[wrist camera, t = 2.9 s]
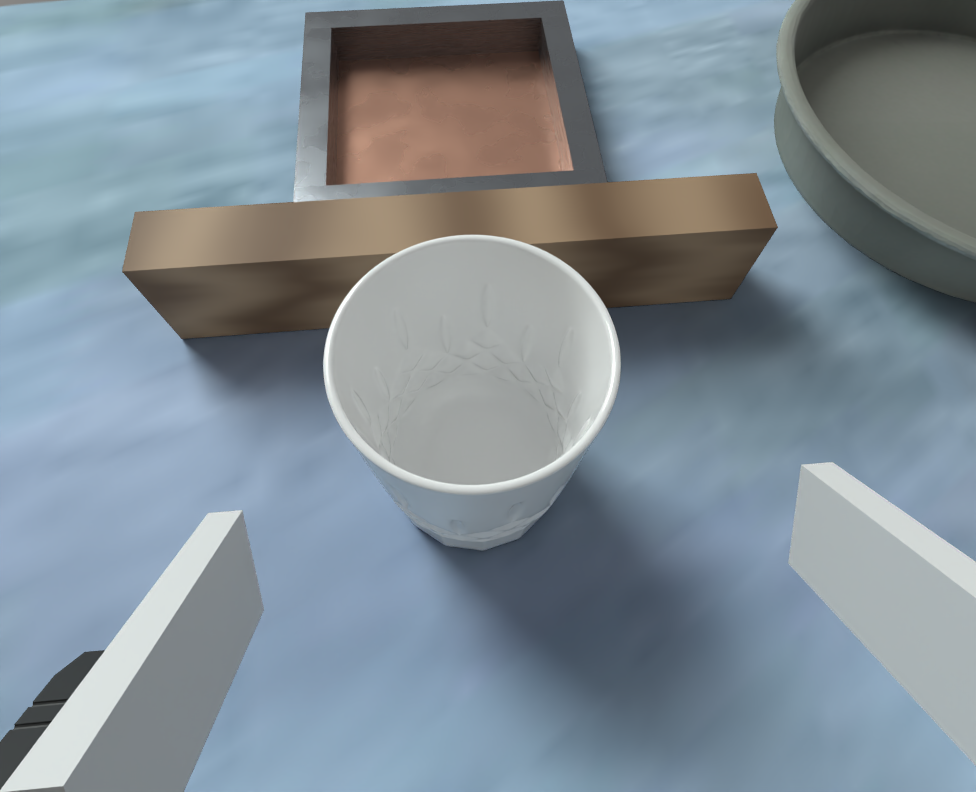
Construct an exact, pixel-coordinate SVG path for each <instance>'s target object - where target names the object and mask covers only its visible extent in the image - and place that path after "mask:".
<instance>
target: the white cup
mask: <svg viewBox="0 0 976 792" xmlns="http://www.w3.org/2000/svg"><path fill="white" fill-rule="evenodd" d="M323 373H324V383H325V388H326V393H327V397H328V400H329V403H330V406H331V408H332V411H333V413H334V415H335V417H336V419H337V421H338V423H339V425H340V427H341V428H342V430H343V431H344V433H345V434H346V436H347V437H348V438H349V440H350V441H351V443H352V444H353V445H354V447H355V448H356V450H357V451H358V452H359V454H360V455H361V457H362V458H363V459H364V461H365V462H366V464H367V465H368V467H369V468H370V469H371V471H372V472H373V474H374V475H375V477H376V478H377V480H378V481H379V482H380V484H381V485H382V487H383V488H384V489H385V491H386V492H387V493H388V494H389V495H390V497H391V498H392V499H393V500H394V502H395V503H396V504H397V505H398V507H399V508H400V509H401V510H402V511H403V512H404V513H405V514H406V515H407V516H409V518H410V520H411V521H412V523H413V524H414V525H415V526H417V527H418V528H420V529H421V530H423V531H424V532H426V533H427V534H429V535H430V536H432V537H433V538H435V539H436V540H438V541H439V542H441V543H442V544H444V545H445V546H452V547H459V548H467V549H475V550H487V549H490V548H493V547H496V546H499V545H502V544H505V543H507V542H510V541H513V540H516V539H519V538H521V537H522V536H523V535H524V534H525V533H526V532H527V531H528V530H529V529H530V528H531V527H532V526H533V525H534V524H535V523H536V522H537V521H538V520H539V519H540V518H541V517H542V516H543V515H544V514H545V513H546V511H547V510H548V509H549V508H550V506H551V505H552V504H553V503H554V501H555V500H556V499H557V497H558V496H559V494H560V493H561V492H562V490H563V489H564V488H565V486H566V485H567V483H568V482H569V480H570V479H571V477H572V476H573V474H574V472H575V471H576V469H577V467H578V466H579V464H580V462H581V461H582V459H583V457H584V456H585V454H586V452H587V451H588V449H589V448H590V446H591V444H592V443H593V441H594V440H595V438H596V436H597V435H598V433H599V432H600V430H601V429H602V427H603V425H604V424H605V422H606V420H607V418H608V416H609V414H610V412H611V410H612V407H613V405H614V402H615V399H616V395H617V392H618V387H619V382H620V373H621V355H620V347H619V341H618V337H617V333H616V330H615V326H614V324H613V321H612V319H611V316H610V314H609V312H608V310H607V308H606V307H605V305H604V303H603V302H602V300H601V298H600V297H599V296H598V294H597V293H596V292H595V290H594V289H593V288H592V287H591V285H590V284H589V283H588V282H587V281H586V280H585V279H584V278H583V277H582V276H581V275H580V274H579V273H578V272H576V271H575V270H574V269H573V268H571V267H570V266H569V265H567V264H566V263H565V262H563V261H562V260H560V259H559V258H557V257H555V256H553V255H552V254H550V253H548V252H546V251H544V250H542V249H540V248H537V247H535V246H532V245H530V244H527V243H524V242H520V241H517V240H513V239H509V238H504V237H497V236H489V235H456V236H448V237H442V238H437V239H433V240H429V241H425V242H422V243H419V244H416V245H413V246H411V247H409V248H406V249H404V250H402V251H400V252H398V253H396V254H394V255H392V256H390V257H389V258H387V259H385V260H384V261H382V262H381V263H379V264H378V265H377V266H375V267H374V268H373V269H371V270H370V271H369V272H368V273H367V274H366V275H364V276H363V277H362V278H361V279H360V280H359V281H358V282H357V283H356V285H355V286H354V287H353V288H352V289H351V290H350V292H349V293H348V294H347V296H346V297H345V298H344V300H343V301H342V303H341V305H340V306H339V308H338V310H337V312H336V314H335V316H334V318H333V320H332V323H331V325H330V328H329V331H328V335H327V339H326V343H325V349H324V359H323Z"/></svg>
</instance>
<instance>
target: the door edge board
mask: <svg viewBox="0 0 976 792" xmlns="http://www.w3.org/2000/svg"><path fill="white" fill-rule="evenodd" d="M777 228H778V227H777V224H776V222H775V219H774V217H773V214H772V212H771V209H770V206H769V204H768V201H767V199H766V196H765V194H764V191H763V189H762V186H761V184H760V181H759V178H758V176H757V173H750V174H734V175H718V176H702V177H687V178H671V179H655V180H639V181H623V182H607V183H591V184H575V185H559V186H543V187H527V188H511V189H495V190H479V191H463V192H447V193H431V194H415V195H399V196H383V197H367V198H351V199H335V200H319V201H303V202H287V203H271V204H255V205H239V206H223V207H207V208H191V209H175V210H159V211H143V212H135V214H134V219H133V223H132V228H131V233H130V237H129V242H128V247H127V251H126V256H125V260H124V265H123V270H122V272H123V273H124V274H125V275H126V276H127V278H128V279H129V280H130V281H131V282H132V283H133V284H134V286H135V287H136V288H137V289H138V290H139V291H140V292H141V293H142V295H143V296H144V297H145V298H146V299H147V300H148V301H149V302H150V304H151V305H152V306H153V307H154V308H155V309H156V310H157V312H158V313H159V314H160V315H161V316H162V317H163V318H164V319H165V321H166V322H167V323H168V324H169V325H170V326H171V327H172V328H173V330H174V331H175V332H176V333H177V334H178V335H179V336H180V338H181V339H188V338H201V337H215V336H229V335H242V334H256V333H270V332H283V331H297V330H311V329H324V328H330V325H331V323H332V320H333V318H334V316H335V314H336V312H337V310H338V308H339V306H340V305H341V303H342V301H343V300H344V298H345V297H346V296H347V294H348V293H349V292H350V290H351V289H352V288H353V287H354V286H355V285H356V283H357V282H358V281H359V280H360V279H361V278H362V277H363V276H364V275H366V274H367V273H368V272H369V271H370V270H371V269H373V268H374V267H375V266H377V265H378V264H379V263H381V262H382V261H384V260H385V259H387V258H389V257H390V256H392V255H394V254H396V253H398V252H400V251H402V250H404V249H406V248H409V247H411V246H413V245H416V244H419V243H422V242H425V241H429V240H433V239H437V238H442V237H448V236H456V235H489V236H497V237H504V238H509V239H513V240H517V241H520V242H524V243H527V244H530V245H532V246H535V247H537V248H540V249H542V250H544V251H546V252H548V253H550V254H552V255H553V256H555V257H557V258H559V259H560V260H562V261H563V262H565V263H566V264H567V265H569V266H570V267H571V268H573V269H574V270H575V271H576V272H578V273H579V274H580V275H581V276H582V277H583V278H584V279H585V280H586V281H587V282H588V283H589V284H590V285H591V287H592V288H593V289H594V290H595V292H596V293H597V294H598V296H599V297H600V298H601V300H602V302H603V303H604V305H605V307H606V308H612V307H625V306H639V305H653V304H666V303H680V302H694V301H707V300H721V299H731V298H732V296H733V295H734V293H735V292H736V290H737V289H738V287H739V285H740V284H741V282H742V281H743V279H744V278H745V276H746V275H747V273H748V272H749V270H750V269H751V267H752V266H753V264H754V263H755V261H756V260H757V258H758V257H759V255H760V254H761V252H762V250H763V249H764V247H765V246H766V244H767V243H768V241H769V240H770V238H771V237H772V235H773V234H774V232H775V231H776V229H777Z"/></svg>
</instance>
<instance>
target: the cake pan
mask: <svg viewBox="0 0 976 792" xmlns="http://www.w3.org/2000/svg"><path fill="white" fill-rule="evenodd" d="M777 68H778V74H779V79H780V83H781V89H780V92H779V96H778V99H777V103H776V109H775V116H774V128H775V137H776V144H777V147H778V150H779V154H780V157H781V159H782V162H783V164H784V167H785V169H786V171H787V173H788V175H789V177H790V179H791V180H792V182H793V184H794V185H795V187H796V188H797V190H798V191H799V193H800V194H801V195H802V197H803V198H804V199H805V201H806V202H807V203H808V204H809V206H810V207H811V208H812V209H813V210H814V211H815V212H816V213H817V215H818V216H819V217H820V218H821V219H822V220H823V221H824V222H825V223H826V224H827V225H828V226H829V227H830V228H832V229H833V230H834V231H835V232H836V233H837V234H838V235H839V236H841V237H842V238H843V239H844V240H846V241H847V242H848V243H849V244H851V245H852V246H853V247H855V248H856V249H858V250H859V251H861V252H862V253H864V254H865V255H867V256H868V257H869V258H871V259H873V260H874V261H876V262H878V263H879V264H881V265H883V266H885V267H886V268H888V269H890V270H892V271H894V272H895V273H897V274H899V275H901V276H903V277H905V278H907V279H909V280H912V281H914V282H916V283H919V284H921V285H924V286H926V287H929V288H931V289H934V290H936V291H939V292H942V293H944V294H947V295H950V296H954V297H957V298H960V299H964V300H967V301H972V302H976V0H795V1H794V3H793V4H792V5H791V7H790V8H789V10H788V12H787V14H786V16H785V18H784V20H783V22H782V26H781V29H780V31H779V37H778V42H777Z"/></svg>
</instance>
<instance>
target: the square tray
mask: <svg viewBox="0 0 976 792" xmlns="http://www.w3.org/2000/svg"><path fill="white" fill-rule="evenodd" d="M591 183H607V178H606V174H605V170H604V166H603V162H602V158H601V154H600V150H599V146H598V141H597V137H596V133H595V129H594V125H593V121H592V117H591V113H590V108H589V104H588V100H587V96H586V92H585V88H584V84H583V80H582V75H581V71H580V67H579V63H578V59H577V55H576V51H575V47H574V42H573V38H572V34H571V30H570V26H569V22H568V18H567V14H566V9H565V5H564V1H543V2H521V3H500V4H479V5H458V6H436V7H415V8H394V9H372V10H351V11H330V12H309V13H306V14H305V30H304V45H303V60H302V75H301V91H300V106H299V121H298V136H297V152H296V167H295V182H294V198H293V202H303V201H319V200H335V199H351V198H367V197H383V196H399V195H415V194H431V193H447V192H463V191H479V190H495V189H511V188H527V187H543V186H559V185H575V184H591Z"/></svg>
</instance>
